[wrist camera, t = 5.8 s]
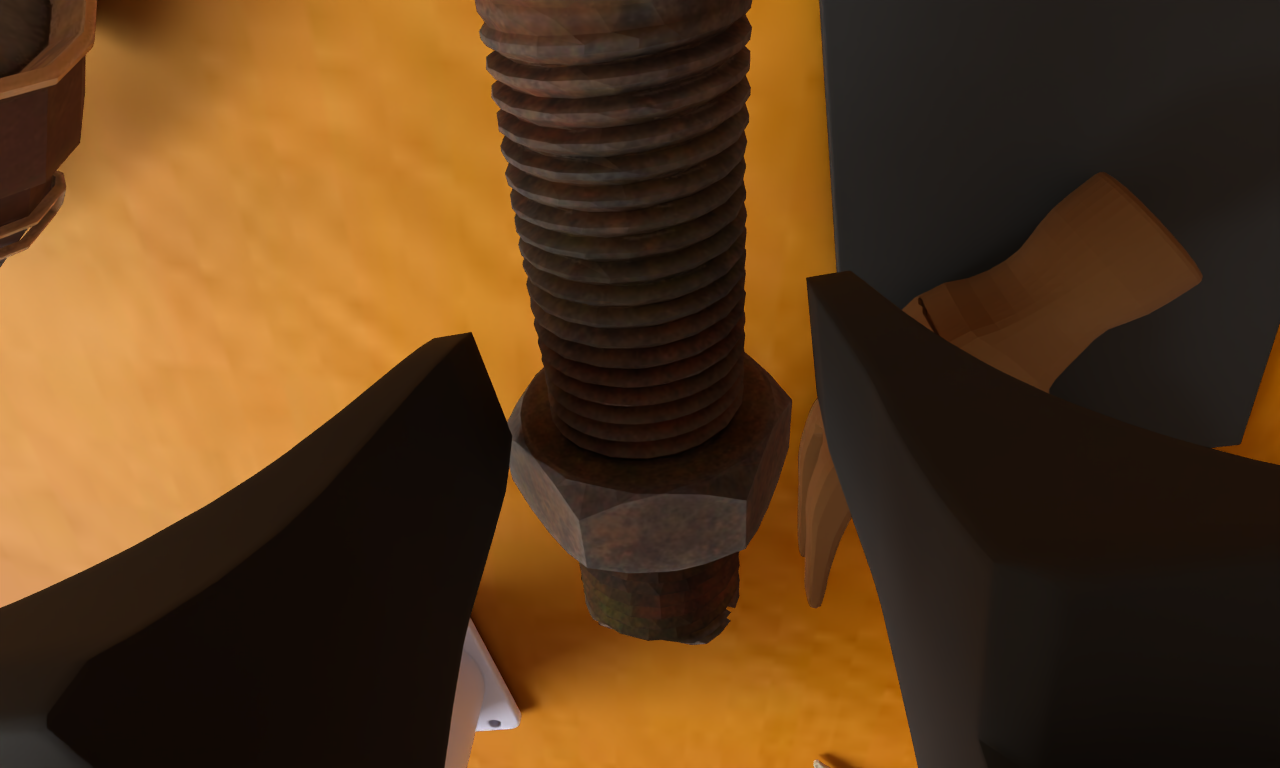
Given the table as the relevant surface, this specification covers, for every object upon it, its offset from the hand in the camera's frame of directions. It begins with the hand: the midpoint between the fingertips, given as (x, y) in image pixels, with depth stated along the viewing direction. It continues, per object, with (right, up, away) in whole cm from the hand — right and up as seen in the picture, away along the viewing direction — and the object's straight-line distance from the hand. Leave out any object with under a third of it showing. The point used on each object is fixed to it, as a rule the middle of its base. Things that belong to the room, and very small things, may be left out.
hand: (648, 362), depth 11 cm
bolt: (0, +2, +2) cm, 3 cm away
